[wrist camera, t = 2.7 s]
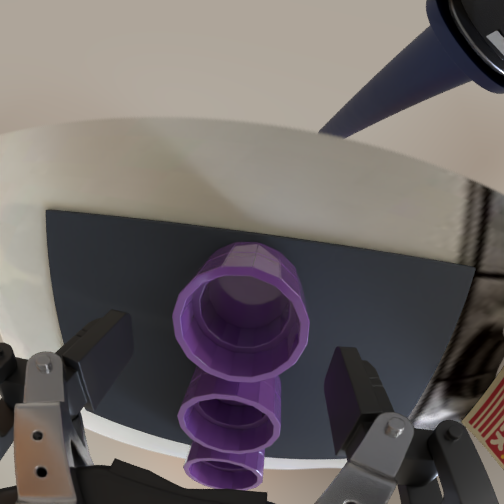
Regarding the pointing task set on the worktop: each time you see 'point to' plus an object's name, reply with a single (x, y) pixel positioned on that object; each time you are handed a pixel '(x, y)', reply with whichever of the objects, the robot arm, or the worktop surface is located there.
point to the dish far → (224, 468)
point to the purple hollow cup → (231, 413)
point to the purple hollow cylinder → (243, 314)
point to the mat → (317, 301)
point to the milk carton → (490, 419)
